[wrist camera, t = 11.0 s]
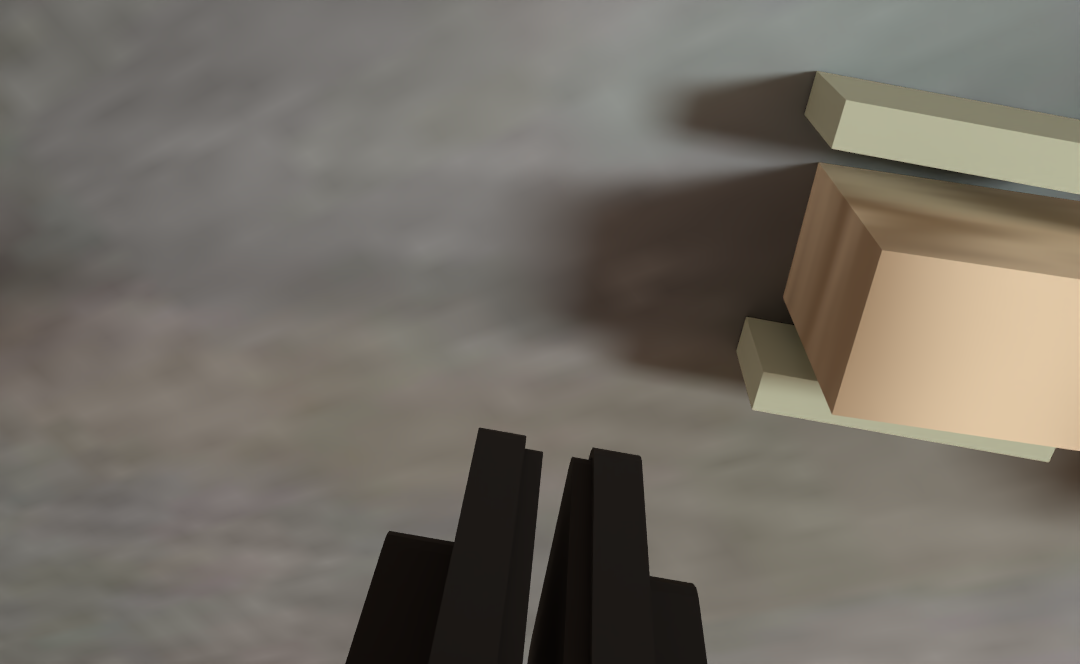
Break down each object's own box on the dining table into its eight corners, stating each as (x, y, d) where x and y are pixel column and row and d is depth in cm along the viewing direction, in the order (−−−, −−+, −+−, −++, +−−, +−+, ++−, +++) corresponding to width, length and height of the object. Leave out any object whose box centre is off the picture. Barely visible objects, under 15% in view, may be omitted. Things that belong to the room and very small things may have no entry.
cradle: (736, 351, 26) (752, 410, 23) (816, 70, 23) (846, 100, 20) (1001, 399, 26) (1049, 462, 23) (1117, 126, 23) (1187, 163, 20)
